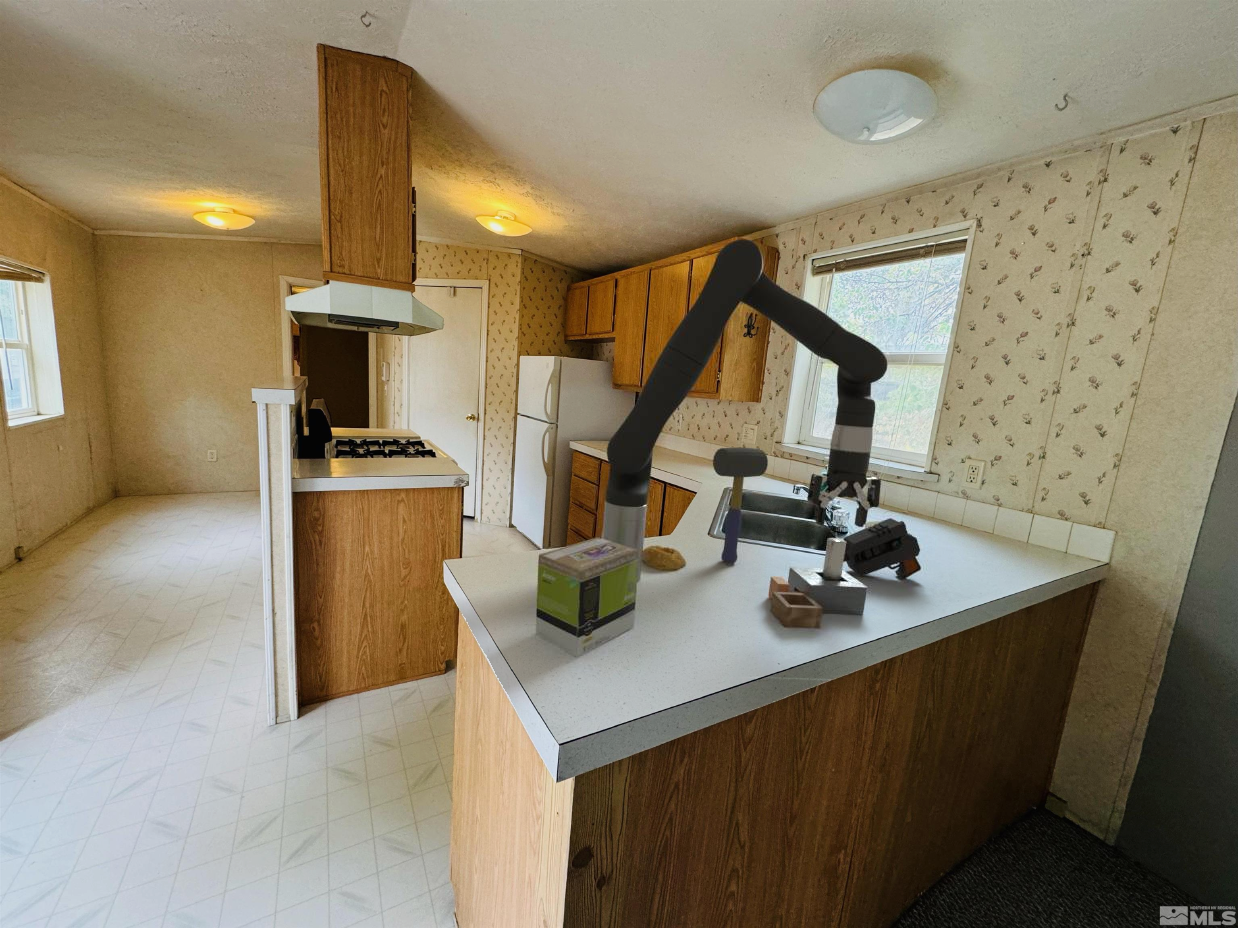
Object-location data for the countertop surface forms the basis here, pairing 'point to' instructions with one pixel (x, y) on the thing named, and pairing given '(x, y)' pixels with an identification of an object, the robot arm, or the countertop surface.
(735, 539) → the rubber mallet
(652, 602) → the countertop surface
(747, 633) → the countertop surface
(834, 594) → the socket
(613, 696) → the countertop surface
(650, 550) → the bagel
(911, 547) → the black toy pistol
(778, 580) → the drift key
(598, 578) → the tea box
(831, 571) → the tall gray stick
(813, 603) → the open wooden box
